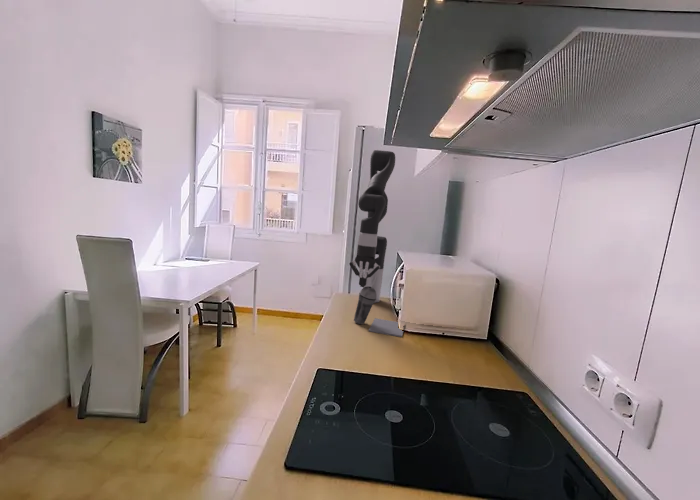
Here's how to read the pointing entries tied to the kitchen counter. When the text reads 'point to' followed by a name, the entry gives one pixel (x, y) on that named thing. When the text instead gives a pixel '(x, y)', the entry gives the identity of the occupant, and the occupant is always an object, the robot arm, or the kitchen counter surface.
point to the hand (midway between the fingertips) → (362, 286)
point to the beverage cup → (365, 303)
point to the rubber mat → (386, 327)
